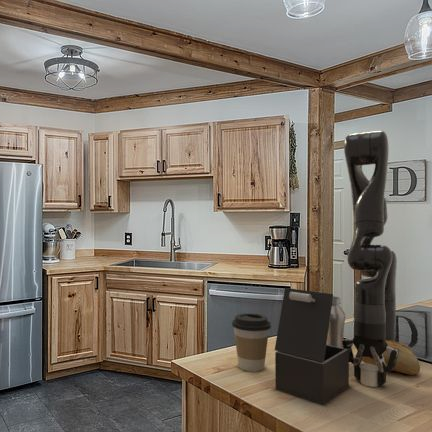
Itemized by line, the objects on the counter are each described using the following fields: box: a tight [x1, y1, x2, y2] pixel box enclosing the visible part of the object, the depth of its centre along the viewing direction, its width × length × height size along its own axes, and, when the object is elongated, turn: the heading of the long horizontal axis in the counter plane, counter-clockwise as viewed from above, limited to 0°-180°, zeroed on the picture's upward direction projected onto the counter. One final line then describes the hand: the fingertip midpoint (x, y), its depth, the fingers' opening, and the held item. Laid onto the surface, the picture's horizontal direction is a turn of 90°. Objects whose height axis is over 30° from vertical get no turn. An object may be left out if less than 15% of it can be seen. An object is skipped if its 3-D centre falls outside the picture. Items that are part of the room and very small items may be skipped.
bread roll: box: [362, 340, 421, 376], centre depth 125 cm, size 10×15×8 cm, turn 51°
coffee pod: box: [359, 363, 379, 388], centre depth 115 cm, size 5×5×4 cm
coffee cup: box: [231, 312, 272, 373], centre depth 128 cm, size 11×11×15 cm
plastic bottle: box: [326, 295, 346, 348], centre depth 131 cm, size 6×7×20 cm
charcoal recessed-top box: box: [274, 345, 350, 406], centre depth 113 cm, size 16×13×10 cm
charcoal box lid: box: [274, 287, 334, 363], centre depth 108 cm, size 16×13×5 cm
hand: (369, 381), depth 115 cm, fingers closed on coffee pod, 5 cm apart
